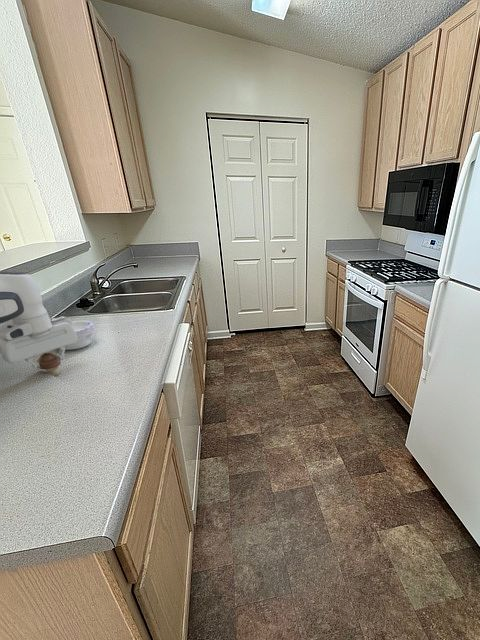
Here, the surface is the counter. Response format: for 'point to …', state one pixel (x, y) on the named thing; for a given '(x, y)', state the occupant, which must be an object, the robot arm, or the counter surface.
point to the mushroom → (49, 363)
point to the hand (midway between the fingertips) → (49, 363)
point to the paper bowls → (82, 334)
